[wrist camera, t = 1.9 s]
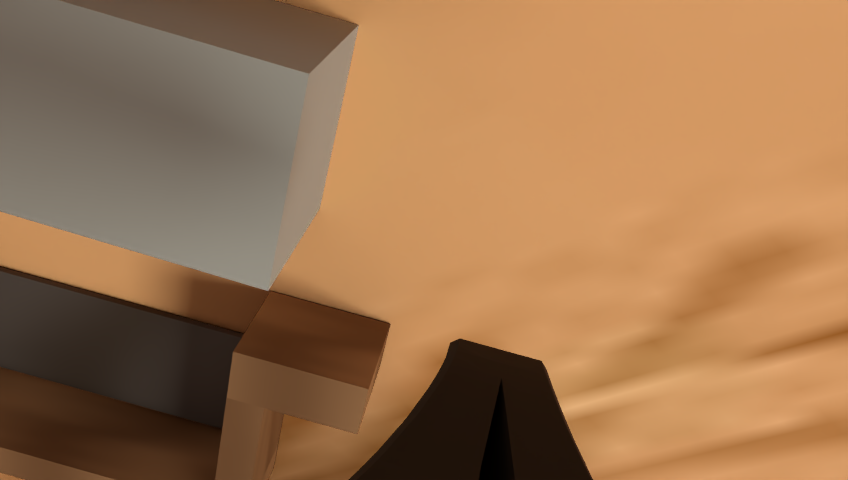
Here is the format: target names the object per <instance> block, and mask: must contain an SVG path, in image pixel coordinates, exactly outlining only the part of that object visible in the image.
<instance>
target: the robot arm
mask: <svg viewBox="0 0 848 480" xmlns="http://www.w3.org/2000/svg"><path fill="white" fill-rule="evenodd" d="M349 480H593V479H592V477H591V475H590V473H589V471H588V468H587V466H586V464H585V462H584V460H583V458H582V456H581V454H580V452H579V449H578V447H577V445H576V443H575V441H574V439H573V436H572V434H571V432H570V429H569V427H568V425H567V422H566V420H565V417H564V415H563V412H562V410H561V408H560V405H559V402H558V400H557V397H556V395H555V392H554V389H553V387H552V384H551V381H550V378H549V376H548V373H547V370H546V368H545V366H544V364H543V363H542V361H540V360H536V359H532V358H529V357H525V356H521V355H518V354H514V353H511V352H507V351H503V350H500V349H496V348H492V347H489V346H485V345H481V344H478V343H474V342H471V341H467V340H463V339H458V340H456V341H453V342H451V343H450V345H449V349H448V352H447V356H446V358H445V360H444V363H443V365H442V366H441V368H440V370H439V372H438V374H437V375H436V377H435V378H434V380H433V382H432V383H431V385H430V387H429V388H428V390H427V391H426V392H425V394H424V395H423V396H422V398H421V399H420V400H419V402H418V403H417V405H416V406H415V407H414V409H413V410H412V411H411V413H410V414H409V415H408V417H407V418H406V419H405V420H404V422H403V423H402V424H401V425H400V426H399V427H398V428H397V430H396V431H395V432H394V433H393V434H392V435H391V436H390V438H389V439H388V440H387V441H386V442H385V443H384V444H383V446H382V447H381V448H380V449H379V450H378V451H377V452H376V453H375V454H374V455H373V456H372V457H371V458H370V459H369V460H368V461H367V462H366V463H365V465H364V466H362V467H361V468H360V469H359V470H358V471H357V472H356V473H355V474H354V475H353V476H352V477H351V478H350V479H349Z"/></svg>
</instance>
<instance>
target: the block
mask: <svg viewBox="0 0 848 480" xmlns="http://www.w3.org/2000/svg"><path fill="white" fill-rule="evenodd" d="M358 26H359V25H357V24H354V23H350V22H347V21H344V20H340V19H337V18H333V17H330V16H326V15H323V14H320V13H316V12H313V11H309V10H306V9H303V8H299V7H296V6H292V5H289V4H285V3H282V2H279V1H275V0H0V211H1V212H4V213H7V214H11V215H14V216H17V217H21V218H24V219H27V220H31V221H34V222H38V223H41V224H44V225H48V226H51V227H54V228H58V229H61V230H64V231H68V232H71V233H74V234H78V235H81V236H85V237H88V238H91V239H95V240H98V241H101V242H105V243H108V244H111V245H115V246H118V247H121V248H125V249H128V250H132V251H135V252H138V253H142V254H145V255H148V256H152V257H155V258H158V259H162V260H165V261H169V262H172V263H175V264H179V265H182V266H185V267H189V268H192V269H195V270H199V271H202V272H205V273H209V274H212V275H216V276H219V277H222V278H226V279H229V280H232V281H236V282H239V283H242V284H246V285H249V286H253V287H256V288H259V289H263V290H266V291H268V290H269V289H270V287H271V286H272V284H273V282H274V281H275V279H276V278H277V276H278V274H279V273H280V271H281V270H282V268H283V266H284V265H285V263H286V262H287V260H288V258H289V257H290V255H291V254H292V252H293V250H294V249H295V247H296V246H297V244H298V242H299V241H300V239H301V238H302V236H303V234H304V233H305V231H306V230H307V228H308V226H309V225H310V223H311V222H312V220H313V218H314V217H315V215H316V214H317V212H318V210H319V209H320V205H321V200H322V195H323V191H324V186H325V181H326V176H327V172H328V167H329V162H330V158H331V153H332V148H333V144H334V139H335V134H336V130H337V125H338V120H339V115H340V111H341V106H342V101H343V97H344V92H345V87H346V83H347V78H348V73H349V68H350V64H351V59H352V54H353V50H354V45H355V40H356V36H357V31H358Z"/></svg>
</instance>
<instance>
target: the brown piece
mask: <svg viewBox="0 0 848 480" xmlns="http://www.w3.org/2000/svg"><path fill="white" fill-rule="evenodd" d="M389 328H390V324H388V323H385V322H381V321H377V320H374V319H370V318H367V317H363V316H359V315H356V314H352V313H348V312H345V311H341V310H337V309H334V308H330V307H327V306H323V305H319V304H316V303H312V302H308V301H305V300H301V299H297V298H294V297H290V296H287V295H283V294H279V293H276V292H272V291H270V293H269V294H268V296H267V298H266V299H265V301H264V303H263V304H262V306H261V307H260V309H259V311H258V312H257V314H256V315H255V317H254V319H253V320H252V322H251V324H250V325H249V327H248V328H247V330H246V332H245V333H244V334H242V333H238V332H235V331H231V330H227V329H224V328H220V327H216V326H213V325H209V324H206V323H202V322H198V321H195V320H191V319H188V318H184V317H180V316H177V315H173V314H169V313H166V312H162V311H159V310H155V309H151V308H148V307H144V306H141V305H137V304H133V303H130V302H126V301H122V300H119V299H115V298H112V297H108V296H104V295H101V294H97V293H94V292H90V291H86V290H83V289H79V288H75V287H72V286H68V285H65V284H61V283H57V282H54V281H50V280H47V279H43V278H39V277H36V276H32V275H28V274H25V273H21V272H18V271H14V270H10V269H7V268H3V267H0V473H4V474H7V475H11V476H14V477H18V478H22V479H25V480H269V477H270V475H271V473H272V471H273V468H274V463H275V458H276V453H277V447H278V442H279V436H280V431H281V426H282V420H283V415H284V414H287V415H290V416H294V417H297V418H301V419H305V420H308V421H312V422H315V423H319V424H322V425H326V426H330V427H333V428H337V429H340V430H344V431H348V432H351V433H355V434H358V431H359V428H360V425H361V422H362V419H363V416H364V413H365V410H366V407H367V404H368V401H369V398H370V395H371V392H372V389H373V386H374V383H375V380H376V376H377V373H378V370H379V367H380V364H381V360H382V356H383V352H384V348H385V344H386V340H387V336H388V332H389ZM5 368H6V369H5ZM9 369H10V370H9ZM16 371H17V372H16ZM23 373H24V374H23ZM30 375H31V376H30ZM34 376H35V377H34ZM41 378H42V379H41ZM48 380H49V381H48ZM59 383H60V384H59ZM66 385H67V386H66ZM73 387H74V388H73ZM84 390H85V391H84ZM91 392H92V393H91ZM98 394H99V395H98ZM109 397H110V398H109ZM116 399H117V400H116ZM123 401H124V402H123ZM127 402H128V403H127ZM134 404H135V405H134ZM141 406H142V407H141ZM148 408H149V409H148ZM152 409H153V410H152ZM159 411H160V412H159ZM166 413H167V414H166ZM177 416H178V417H177ZM184 418H185V419H184ZM191 420H192V421H191ZM202 423H203V424H202ZM209 425H210V426H209ZM216 427H217V428H216Z"/></svg>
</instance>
